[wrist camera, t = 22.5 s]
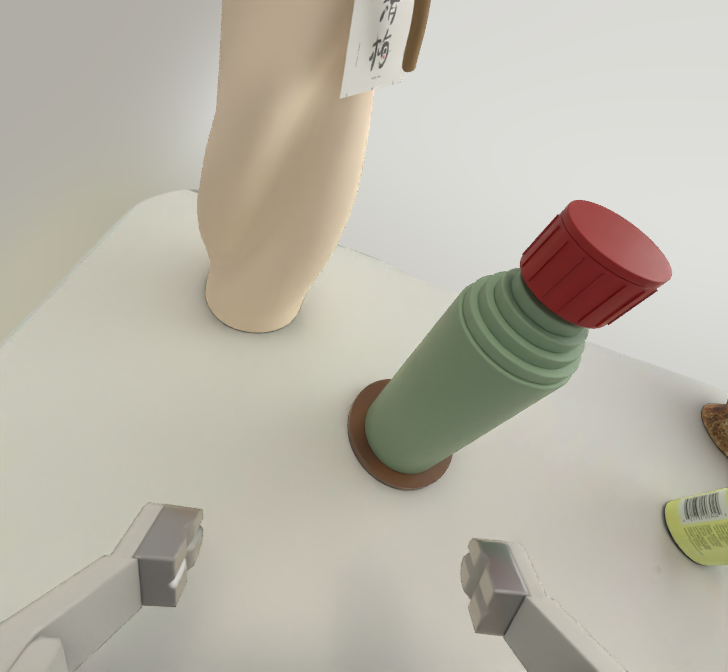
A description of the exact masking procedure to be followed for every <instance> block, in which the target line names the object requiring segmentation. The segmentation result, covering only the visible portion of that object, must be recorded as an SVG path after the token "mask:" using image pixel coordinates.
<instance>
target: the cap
mask: <svg viewBox="0 0 728 672" xmlns="http://www.w3.org/2000/svg"><path fill="white" fill-rule="evenodd" d="M522 255H523V256H522V258H521V261H520V270H521V273H522V276H523V278H524V280H525V282H526V284H527V285H528V287H529V288H530V290H531V291H532V292H533V293H534V295H535V296H536V297H537V298H538V299H539V300H540V301H541V302H542V303H543V304H544V305H545V306H546V307H547V308H549V309H550V310H551V311H553V312H554V313H555V314H557V315H558V316H560V317H561V318H563V319H565V320H567V321H569V322H571V323H573V324H575V325H578V326H581V327H585V328H593V329H595V328H600V327H603V326H605V325H606V324H608V325H609V324H611V323H612V322H614V321H615V320H616V319H618V318H619V317H620V316H622V315H623V314H625V313H626V312H628V311H629V310H631V309H632V308H633V307H635V306H636V305H638V304H639V303H641V302H642V301H644V300H645V299H646V298H648V297H649V296H651V295H652V294H653V293H655V292H656V291H657V288H658V287H660V286H661V285H663V284H664V283H666V282H667V281H668V280H670V278H671V276H672V270H671V266H670V264H669V262H668V261H667V259H666V257H665V256H664V254H663V253H662V252H661V250H660V249H659V248H658V247H657V246H656V245H655V244H654V243H653V241H651V240H650V239H649V238H648V237H647V236H646V235H645V234H644V233H643V232H642V231H640V230H639V229H638V228H637V227H635V226H634V225H633V224H631V223H630V222H629V221H627V220H626V219H624V218H623V217H621V216H620V215H618V214H616V213H614V212H613V211H611V210H609V209H607V208H605V207H603V206H601V205H598V204H595V203H592V202H589V201H583V200H575V201H572V202H570V203H569V204H568V206H567V207H566V208H565V209H564V210H563V211H562V212H561V214H559V215H557V216H556V217H555V218H554V219H553V220H552V221H551V222H550V224H549V225H548V226H547V227H546V228H545V229H544V230H543V232H542V233H541V234H540V235H539V236H538V237H537V238H536V239H535V241H534V242H533V243H532V244H531V245H530V246H529V247H528V248H527V250H526V251H525V252H524V253H523V254H522Z"/></svg>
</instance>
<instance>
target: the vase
mask: <svg viewBox="0 0 728 672" xmlns="http://www.w3.org/2000/svg"><path fill="white" fill-rule="evenodd" d="M702 419H703V423H704V425H705V427H706V429H707V431H708V433H709V434H710V436H711V438H712V439H713V441H714V442H715V444H716V445H717V446H718V447H719V449H720V450H721V451H722V452H723V453H724V454H725V455H726V456H727V457H728V400H727V404H707V405H705V406H704V407H703V410H702Z"/></svg>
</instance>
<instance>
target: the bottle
mask: <svg viewBox="0 0 728 672" xmlns="http://www.w3.org/2000/svg"><path fill="white" fill-rule="evenodd" d="M588 332H589V328H585V327H581V326H578V325H575V324H573V323H571V322H569V321H567V320H565V319H563V318H561V317H560V316H558V315H557V314H555V313H554V312H553V311H551V310H550V309H549V308H547V307H546V306H545V305H544V304H543V303H542V302H541V301H540V300H539V299H538V298H537V297H536V296H535V295H534V293H533V292H532V291H531V290H530V288H529V287H528V285H527V284H526V282H525V280H524V278H523V276H522V273H521V270H520V268H515V269H512V270H509V271H504V272H499V273H496V274H494V275H489V276H485V277H482V278H480V279H479V280H477V281H476V282H475V283H472V284H471V285H469V286H467V287H466V288H465V289H464V290H463V291H462V292H461V293H460V295H459V296H458V297H457V298H456V300H455V301H454V302H453V303H452V305H451V306H450V307H449V308H448V309H447V311H446V312H445V313H444V314H443V316H442V317H441V318H440V319H439V321H438V322H437V323H436V324H435V326H434V327H433V328H432V329H431V331H430V332H429V333H428V334H427V336H426V337H425V338H424V339H423V341H422V342H421V343H420V344H419V346H418V347H417V348H416V349H415V351H414V352H413V353H412V354H411V356H410V357H409V358H408V359H407V361H406V362H405V363H404V364H403V366H402V367H401V368H400V369H399V371H398V372H397V373H396V374H395V376H394V377H393V378H392V379H391V380H390V382H389V383H388V384H387V385H386V387H385V388H384V389H383V390H382V392H381V393H380V394H379V395H378V397H377V398H376V399H375V400H374V402H373V403H372V404H371V406H370V407H369V409H368V411H367V414H366V418H365V433H366V437H367V440H368V443H369V445H370V447H371V449H372V451H373V452H374V454H375V455H376V456H377V458H378V459H379V460H380V461H381V462H382V463H384V464H385V465H386V466H388V467H389V468H391V469H393V470H395V471H398V472H401V473H405V474H417V473H421V472H424V471H426V470H428V469H429V468H431V467H432V466H434V465H436V464H437V463H439V462H440V461H442V460H444V459H445V458H447V457H449V456H450V455H452V454H453V453H455V452H457V451H458V450H460V449H461V448H463V447H465V446H466V445H468V444H470V443H471V442H473V441H474V440H476V439H478V438H479V437H481V436H482V435H484V434H486V433H487V432H489V431H490V430H492V429H494V428H495V427H497V426H499V425H500V424H502V423H503V422H505V421H507V420H508V419H510V418H511V417H513V416H515V415H516V414H518V413H519V412H521V411H523V410H524V409H526V408H528V407H529V406H531V405H532V404H534V403H536V402H537V401H539V400H540V399H542V398H544V397H545V396H547V395H548V394H550V393H552V392H553V391H555V390H557V389H558V388H560V387H561V386H563V385H564V384H565V383H567V382H568V380H569V379H570V377H571V375H572V373H574V372H575V371H576V369H577V368H578V366H579V364H580V361H581V354H582V353H583V351H584V348H585V340H586V338H587V336H588Z"/></svg>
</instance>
